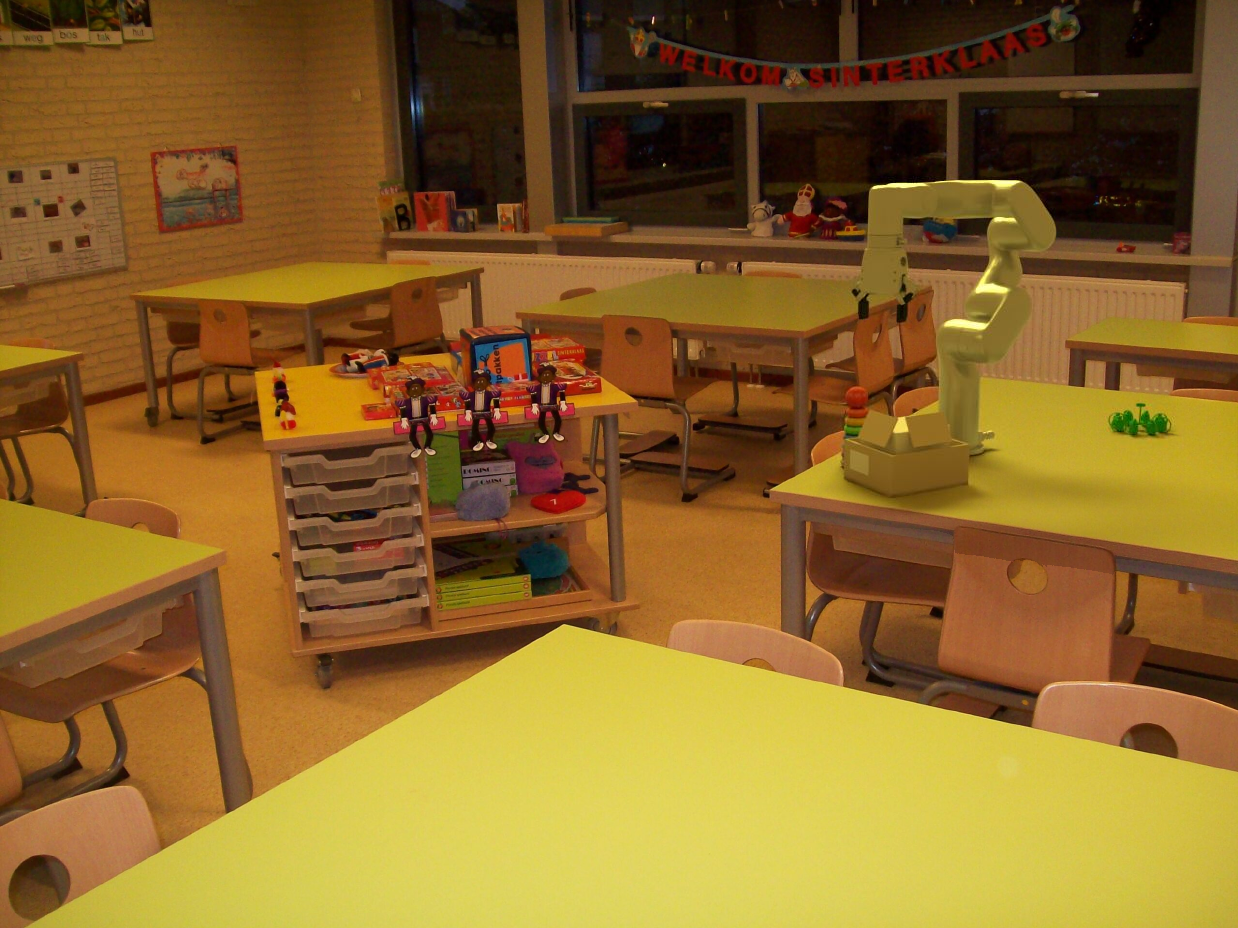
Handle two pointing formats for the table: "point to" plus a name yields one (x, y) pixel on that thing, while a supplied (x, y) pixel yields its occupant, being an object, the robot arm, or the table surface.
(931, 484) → the carton
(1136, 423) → the chandelier
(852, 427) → the stacking toy
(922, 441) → the flap left
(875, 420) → the flap far
